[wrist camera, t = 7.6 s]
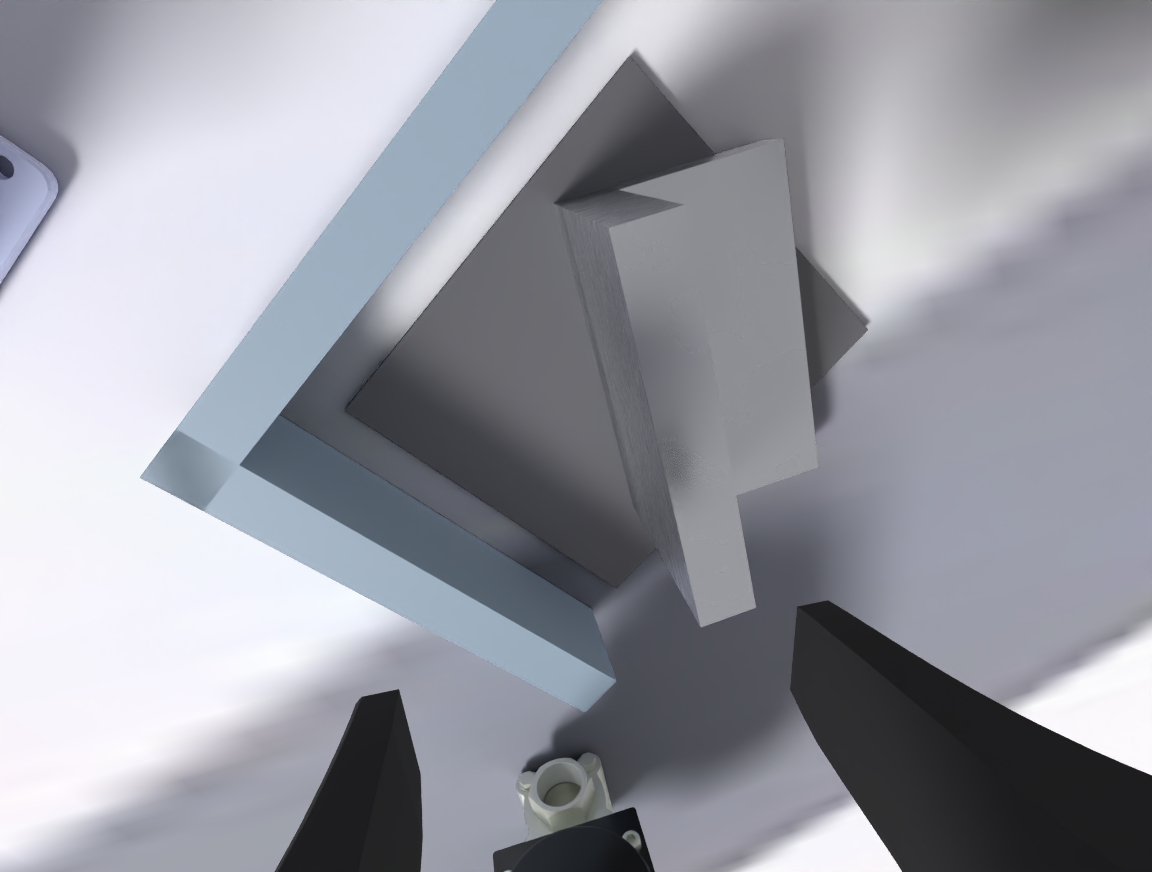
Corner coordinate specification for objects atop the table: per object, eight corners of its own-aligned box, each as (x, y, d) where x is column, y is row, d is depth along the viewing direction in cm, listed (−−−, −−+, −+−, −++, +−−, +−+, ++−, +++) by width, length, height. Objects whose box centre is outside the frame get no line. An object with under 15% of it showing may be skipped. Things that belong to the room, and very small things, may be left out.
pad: (345, 408, 19) (344, 410, 18) (627, 57, 16) (630, 56, 16) (615, 585, 23) (616, 588, 23) (864, 328, 21) (868, 329, 21)
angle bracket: (553, 203, 17) (608, 228, 12) (762, 139, 18) (906, 135, 12) (634, 508, 22) (700, 627, 16) (799, 451, 22) (917, 549, 17)
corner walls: (191, 419, 18) (139, 477, 15) (546, -53, 15) (575, -106, 12) (564, 637, 23) (584, 712, 20) (870, 322, 21) (947, 352, 18)
